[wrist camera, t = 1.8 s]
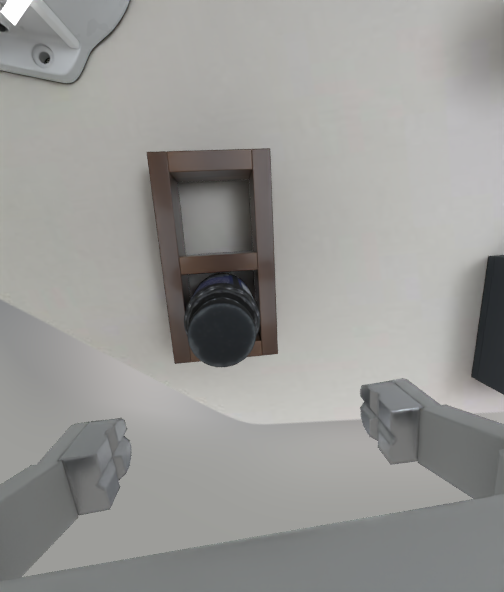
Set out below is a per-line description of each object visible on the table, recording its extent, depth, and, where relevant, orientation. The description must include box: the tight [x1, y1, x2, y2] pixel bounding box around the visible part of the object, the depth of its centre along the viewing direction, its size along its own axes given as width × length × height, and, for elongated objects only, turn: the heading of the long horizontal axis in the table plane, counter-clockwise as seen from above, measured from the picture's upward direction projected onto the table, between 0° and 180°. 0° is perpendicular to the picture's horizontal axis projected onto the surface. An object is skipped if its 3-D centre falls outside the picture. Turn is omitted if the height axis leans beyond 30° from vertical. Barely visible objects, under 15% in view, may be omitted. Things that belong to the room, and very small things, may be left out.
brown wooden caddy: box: [147, 149, 278, 364], centre depth 25 cm, size 10×19×4 cm, turn 3°
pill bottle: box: [184, 273, 260, 367], centre depth 23 cm, size 6×6×11 cm
